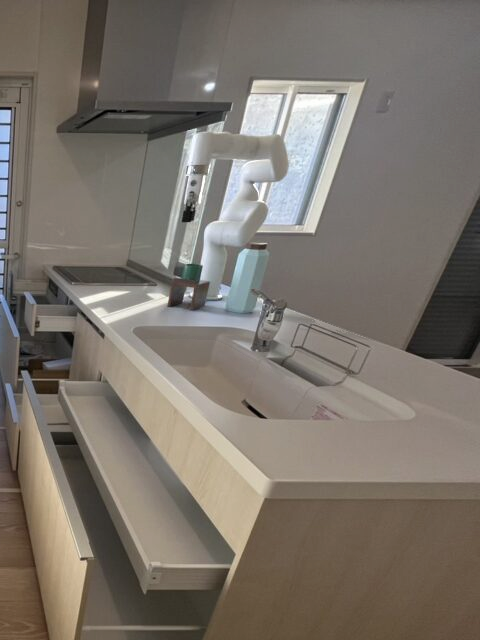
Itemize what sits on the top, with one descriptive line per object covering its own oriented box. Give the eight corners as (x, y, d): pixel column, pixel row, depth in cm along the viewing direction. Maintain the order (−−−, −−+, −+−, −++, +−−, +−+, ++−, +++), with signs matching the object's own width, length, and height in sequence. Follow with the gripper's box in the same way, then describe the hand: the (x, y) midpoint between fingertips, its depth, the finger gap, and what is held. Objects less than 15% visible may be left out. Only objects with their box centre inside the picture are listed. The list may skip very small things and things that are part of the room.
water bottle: (244, 315, 154) (263, 245, 143) (219, 309, 162) (235, 243, 151) (260, 311, 158) (279, 243, 147) (234, 306, 166) (251, 241, 156)
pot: (185, 279, 167) (189, 263, 165) (202, 281, 163) (206, 264, 160) (177, 281, 164) (181, 264, 161) (194, 283, 159) (198, 266, 156)
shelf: (180, 301, 174) (186, 274, 169) (204, 306, 167) (211, 277, 162) (167, 306, 168) (172, 277, 163) (191, 310, 161) (198, 280, 156)
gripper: (207, 169, 141) (196, 223, 148) (210, 171, 154) (200, 220, 162) (183, 171, 145) (173, 222, 152) (188, 172, 158) (179, 220, 165)
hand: (187, 221), depth 157 cm, fingers open, 9 cm apart
